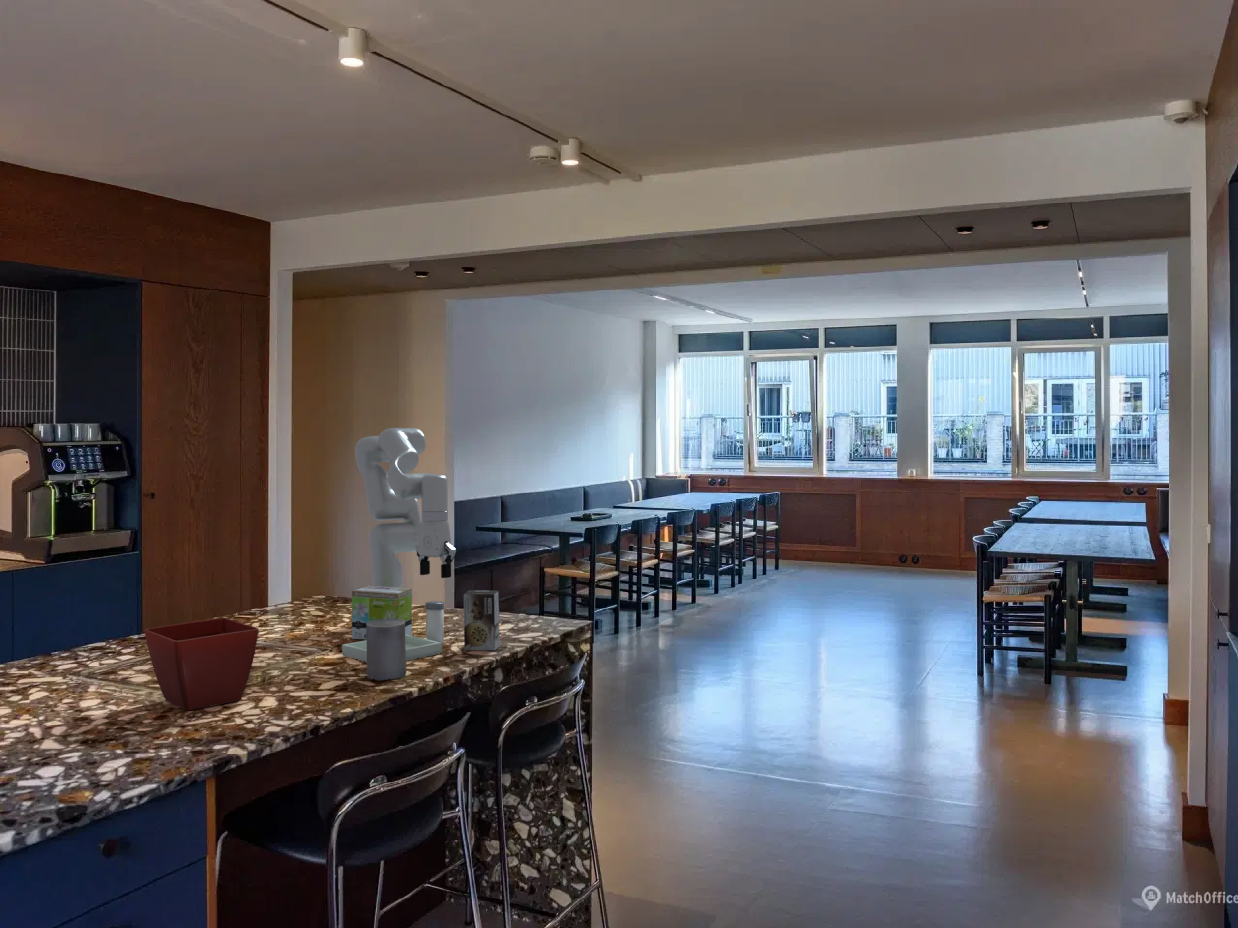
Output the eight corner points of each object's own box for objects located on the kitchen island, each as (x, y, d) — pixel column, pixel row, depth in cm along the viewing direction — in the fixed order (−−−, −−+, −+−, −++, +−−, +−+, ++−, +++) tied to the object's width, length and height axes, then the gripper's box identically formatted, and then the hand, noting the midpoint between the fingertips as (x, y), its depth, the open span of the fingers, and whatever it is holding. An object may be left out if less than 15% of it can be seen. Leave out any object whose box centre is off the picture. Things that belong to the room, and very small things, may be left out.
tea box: (350, 640, 298) (350, 590, 297) (367, 633, 307) (366, 584, 307) (397, 643, 294) (397, 592, 293) (412, 635, 304) (412, 586, 303)
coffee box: (500, 645, 291) (500, 590, 290) (495, 650, 284) (495, 593, 284) (468, 645, 292) (468, 589, 291) (463, 650, 285) (463, 593, 284)
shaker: (421, 642, 295) (421, 602, 295) (436, 639, 299) (436, 600, 299) (433, 644, 292) (433, 605, 291) (448, 641, 296) (448, 602, 295)
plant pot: (143, 700, 233) (142, 627, 232) (225, 685, 246) (225, 616, 245) (176, 718, 219) (175, 640, 218) (261, 701, 232) (260, 628, 232)
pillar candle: (384, 669, 263) (383, 611, 262) (414, 673, 258) (413, 615, 257) (358, 678, 254) (357, 618, 253) (388, 682, 250) (387, 622, 249)
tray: (342, 655, 278) (342, 644, 277) (402, 643, 293) (402, 633, 293) (381, 666, 266) (381, 654, 266) (441, 653, 281) (441, 642, 281)
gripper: (405, 516, 297) (406, 574, 297) (443, 519, 285) (444, 580, 286) (426, 515, 302) (427, 572, 303) (464, 517, 291) (464, 577, 291)
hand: (435, 576), depth 294 cm, fingers open, 9 cm apart
